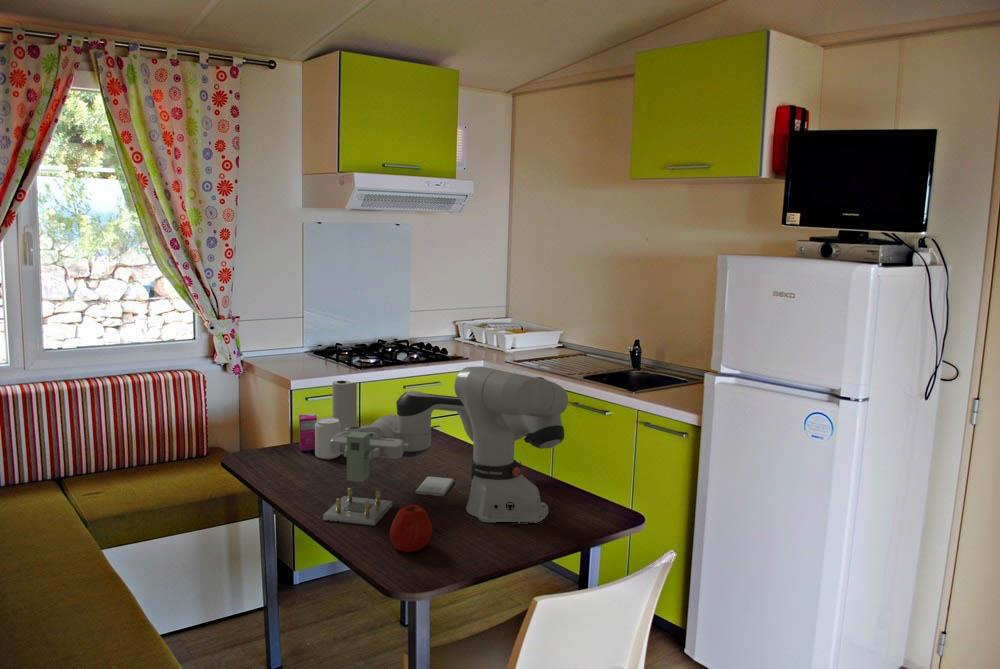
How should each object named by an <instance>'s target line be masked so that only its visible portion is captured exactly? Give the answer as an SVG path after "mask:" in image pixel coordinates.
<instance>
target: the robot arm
mask: <svg viewBox="0 0 1000 669" xmlns="http://www.w3.org/2000/svg"><path fill="white" fill-rule="evenodd" d="M453 387H454V393H455V395H456V396H451V395H443V394H433V393H427V392H426V393H425V392H422V391H416V390H410V391H404V392H403V394H401V395H400V397H398V398H397V400H396V402H395V403H396V405H395V406H396V414H387V415H383V416H381V417H379V418H378V419H376V420H374V422H373V423H371V424H367V425H362V426H361V425H360V426H357V427H347V428H346V429H345V432H341V433H339V434H337V435H336V436H334V437H333V438H332V439H331V440H330V452H331V453H338V454H340V455H343V457H345V458H347V436H348V435H350V434H351V433H352V432H354V431H356V432H367V433H370V451H367V452H366V453H365V455H366V457H365V459H370V460H372V459H373V458H382V459H392V460H399V459H401V458H402V457H406V458H415V457H418V456H422V455H423V454H424V453H426V452H427V451H429V449H430V447H431V444H432V441H431V440H432V427H431V426H432V414H433V412H434V411H436V410H437V411H448V412H455V413H457V414H458V416H459V417H460V420H461V423H462V426H463V429H464V431H465V434H466V436H467V437H468V438H469V439H470V440H471V442H473V454H472V455H473V456H472V459H471V463H470V476H471V477H470V479H471V484H470V485H471V486H470V491H469V497H468V500H467V504H466V506H465V510H466V512H467V513H468V514H469V515H471V516H473V517H476V518H477V519H478V520H479V521H481V522H482V523H496V522H518V523H517V524H521V523H520V522H531V523H532V522H534V523H537V522H540V521H542V520H543V519H545V517H546V516H547V514H548V515H549V507H548V504H546V503H545V502H542V501H541V499H542V498H541V496H540V495H541V494H540V490H539V488H538V486H536V485H535V484H534V483H533V482H532V481H530V480H529V479H527V477H526V476H524V475H523V474H522V461H519V462H518V461H517V460H516V459H515V442H516V441H518V440H520V439H522V438H523V441H524V442H525V443H527V444H529V445H530V446H533V447H535V448H538V449H541V450H543V449H552V448H554V447H556V446H558V445H560V444H561V443H562V442H563V441H564V439H565V427H564V425H563V422H562V417H561V416H562V415H561V414H563V413H564V412H566V409H567V407H568V405H569V396H568V392H567V391H566V390H565V388H563V387H562V386H561V385H559V384H558V383H555V382H553V381H551V380H548V379H546V378H544V377H542V376H541V377H540V376H535V377H534V376H529V375H524V374H519V373H514V372H510V371H505V370H500V369H497V368H496V369H495V368H490V367H485V366H467V367H463V368H462V369H461V370H460V371H459V372H458V373H457V374H456V377H455V380H454V386H453ZM547 517H548V516H547ZM547 517H546V518H547ZM545 520H546V519H545ZM542 522H543V521H542ZM540 523H541V522H540ZM537 524H538V523H537Z"/></svg>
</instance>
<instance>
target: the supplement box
mask: <svg viewBox="0 0 1000 669" xmlns="http://www.w3.org/2000/svg"><path fill="white" fill-rule="evenodd" d="M317 420H318V417H317V414H316V413H308V414H307V413H305V414H299V415H298V426H299V427H298V429H299V430H298V432H299V433H298V434H299V448H300V453H308V452H309V453H311V452H310V451H312V452H315V424H316V422H317Z"/></svg>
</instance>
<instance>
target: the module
mask: <svg viewBox="0 0 1000 669" xmlns="http://www.w3.org/2000/svg"><path fill="white" fill-rule="evenodd" d="M367 451H370V433H367V432H356V431H354V432H352V433H351V434H350V435H348V436H347V457H346V481H348V482H359V483H364V482H365V481H366V480H367V479H368V478H369V477H370V476H371V475H370V474H371V473H370V471H371V467H370V466H371V459H365V457H366V455H365V453H366V452H367Z"/></svg>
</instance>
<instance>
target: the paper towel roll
mask: <svg viewBox="0 0 1000 669" xmlns="http://www.w3.org/2000/svg"><path fill="white" fill-rule="evenodd" d="M357 384H358V383H357V382H351V381H349V380H336V381H335V380H334V381H332V384H331V385H332V388H331V390H332V394H331V395H332V418H337V419H339V422H340V424H341V432H345V429H346V428H347V427H358V426H357V424H358V423H357V421H358V420H357V419H358V416H357V414H358V413H357V412H358V411H357V409H358V406H357V405H358V404H357V403H358V399H357V398H358V395H357V394H358V392H357V391H358V390H357V389H358V386H357Z"/></svg>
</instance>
